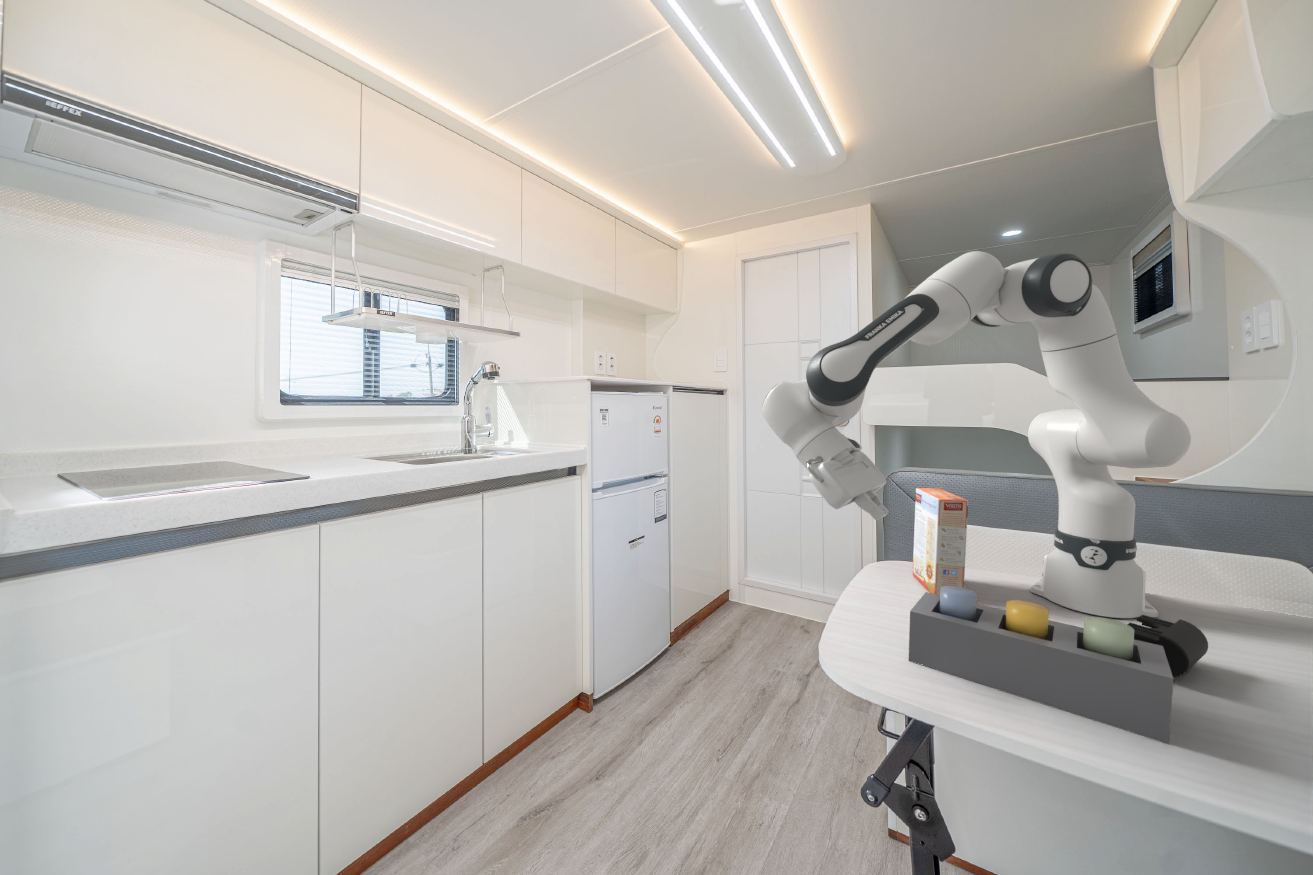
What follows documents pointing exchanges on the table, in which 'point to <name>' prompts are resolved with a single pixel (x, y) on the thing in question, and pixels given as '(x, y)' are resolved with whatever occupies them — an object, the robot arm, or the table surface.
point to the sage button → (1108, 637)
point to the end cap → (1173, 641)
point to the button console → (1047, 667)
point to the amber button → (1027, 618)
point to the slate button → (958, 602)
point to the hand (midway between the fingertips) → (883, 516)
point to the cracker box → (939, 539)
